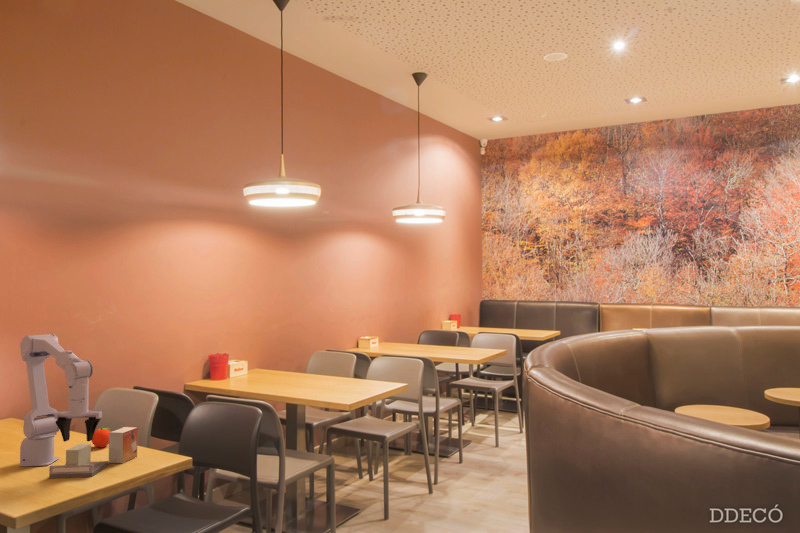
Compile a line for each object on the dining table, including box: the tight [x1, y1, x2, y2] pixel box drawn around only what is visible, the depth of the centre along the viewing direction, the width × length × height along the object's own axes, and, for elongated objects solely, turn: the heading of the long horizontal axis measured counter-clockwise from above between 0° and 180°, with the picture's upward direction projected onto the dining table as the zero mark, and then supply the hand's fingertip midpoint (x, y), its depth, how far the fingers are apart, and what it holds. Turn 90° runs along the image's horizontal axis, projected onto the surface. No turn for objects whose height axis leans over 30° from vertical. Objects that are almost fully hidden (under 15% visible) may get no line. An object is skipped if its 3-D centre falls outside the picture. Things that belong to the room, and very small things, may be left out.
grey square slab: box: [48, 460, 109, 479], centre depth 183 cm, size 13×12×4 cm
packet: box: [65, 443, 92, 465], centre depth 182 cm, size 4×7×7 cm, turn 0°
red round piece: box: [91, 427, 111, 448], centre depth 212 cm, size 8×7×7 cm
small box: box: [108, 426, 138, 464], centre depth 195 cm, size 8×6×10 cm
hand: (78, 440), depth 182 cm, fingers open, 7 cm apart
